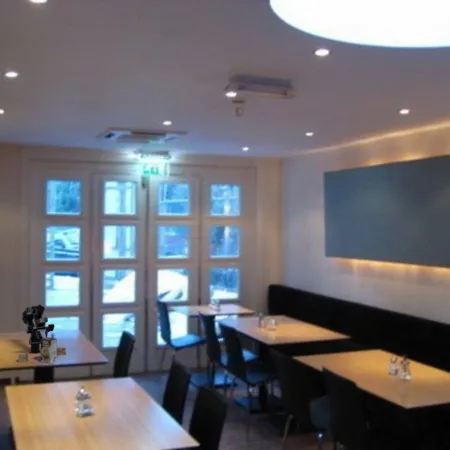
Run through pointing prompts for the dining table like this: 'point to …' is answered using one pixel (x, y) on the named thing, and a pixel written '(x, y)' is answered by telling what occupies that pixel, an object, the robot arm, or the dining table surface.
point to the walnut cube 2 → (61, 351)
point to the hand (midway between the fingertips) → (42, 338)
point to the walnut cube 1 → (23, 357)
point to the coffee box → (48, 350)
